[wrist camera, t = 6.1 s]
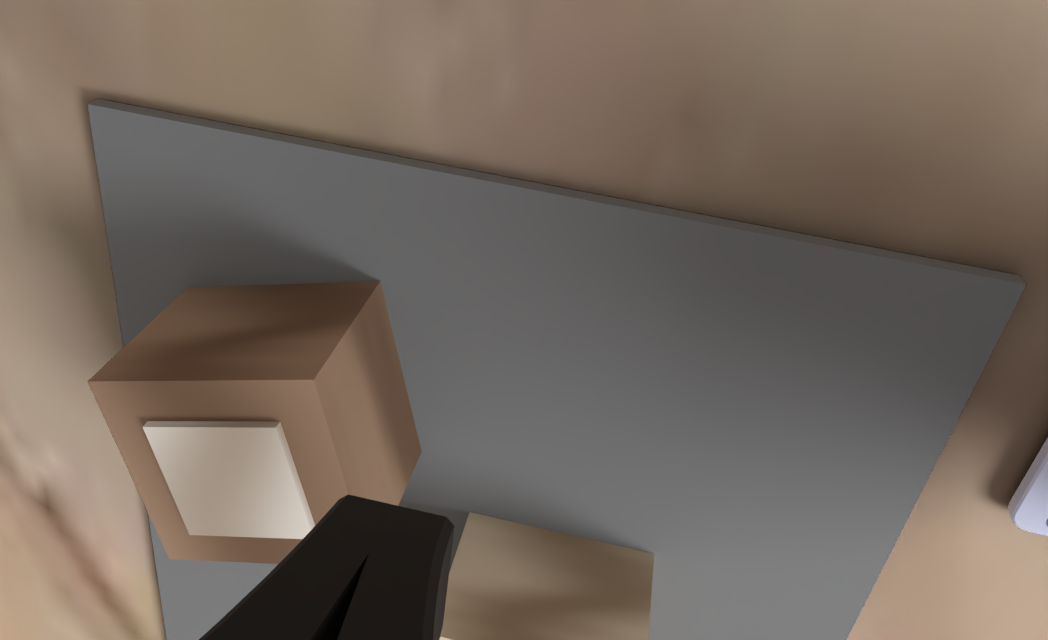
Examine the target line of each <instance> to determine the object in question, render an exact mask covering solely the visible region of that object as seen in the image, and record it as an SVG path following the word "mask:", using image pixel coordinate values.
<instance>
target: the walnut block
mask: <svg viewBox="0 0 1048 640" xmlns="http://www.w3.org/2000/svg"><path fill="white" fill-rule="evenodd" d="M88 384H89V386H90V388H91V390H92V392H93V394H94V397H95V399H96V401H97V403H98V405H99V407H100V410H101V412H102V414H103V416H104V418H105V420H106V423H107V425H108V427H109V429H110V431H111V433H112V436H113V438H114V440H115V442H116V444H117V446H118V449H119V451H120V453H121V455H122V457H123V460H124V462H125V464H126V466H127V468H128V470H129V473H130V475H131V477H132V479H133V481H134V483H135V486H136V488H137V490H138V492H139V494H140V496H141V499H142V501H143V503H144V505H145V507H146V509H147V512H148V514H149V516H150V518H151V520H152V522H153V525H154V527H155V529H156V531H157V533H158V535H159V538H160V540H161V542H162V544H163V546H164V549H165V551H166V553H167V555H168V557H169V559H176V560H199V561H222V562H245V563H268V564H279V563H280V562H281V561H282V560H283V559H284V558H285V557H286V556H287V555H288V554H289V553H290V552H291V551H292V550H293V549H294V548H295V547H296V546H297V545H298V544H299V543H300V542H301V540H302V539H303V538H304V537H305V536H306V535H307V534H308V533H309V532H310V531H311V530H312V529H313V528H314V527H315V525H316V524H317V523H318V522H319V521H320V520H321V519H322V518H323V517H324V516H325V515H326V513H327V512H328V511H329V510H330V509H331V508H332V507H333V506H334V504H335V503H336V502H337V501H338V500H339V499H341V498H342V497H344V496H346V495H348V494H349V495H353V496H357V497H362V498H366V499H371V500H375V501H379V502H384V503H388V504H393V505H397V506H398V505H399V503H400V500H401V498H402V496H403V493H404V491H405V489H406V487H407V484H408V482H409V480H410V477H411V475H412V473H413V471H414V468H415V466H416V464H417V461H418V459H419V457H420V454H421V452H422V451H421V447H420V443H419V438H418V434H417V430H416V426H415V422H414V418H413V414H412V409H411V405H410V401H409V397H408V393H407V389H406V385H405V380H404V376H403V372H402V368H401V364H400V360H399V356H398V351H397V347H396V343H395V339H394V335H393V331H392V327H391V322H390V318H389V314H388V310H387V306H386V302H385V298H384V294H383V289H382V285H381V281H364V282H335V283H307V284H278V285H249V286H220V287H191V288H186V289H185V290H184V291H183V292H182V293H181V294H180V295H179V296H178V297H177V298H176V299H174V300H173V301H172V302H171V303H170V304H169V305H168V306H167V307H166V308H165V309H164V310H163V311H162V312H161V313H160V314H159V315H158V316H156V317H155V318H154V319H153V320H152V321H151V322H150V323H149V324H148V325H147V326H146V327H145V328H144V329H143V330H142V331H141V332H140V333H138V334H137V335H136V336H135V337H134V338H133V339H132V340H131V341H130V342H129V343H128V344H127V345H126V346H125V347H124V348H123V349H122V350H120V351H119V352H118V353H117V354H116V355H115V356H114V357H113V358H112V359H111V360H110V361H109V362H108V363H107V364H106V365H105V366H104V367H102V368H101V369H100V370H99V371H98V372H97V373H96V374H95V375H94V376H93V377H92V378H91V379H90V380H89V381H88Z"/></svg>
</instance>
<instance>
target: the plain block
mask: <svg viewBox="0 0 1048 640" xmlns="http://www.w3.org/2000/svg"><path fill="white" fill-rule="evenodd" d="M653 565H654V554H653V553H648V552H644V551H639V550H635V549H630V548H626V547H622V546H617V545H613V544H608V543H604V542H600V541H595V540H591V539H586V538H582V537H577V536H573V535H569V534H564V533H560V532H555V531H551V530H547V529H542V528H538V527H533V526H529V525H524V524H520V523H516V522H511V521H507V520H502V519H498V518H494V517H489V516H485V515H480V514H476V513H471V512H469V515H468V518H467V521H466V524H465V527H464V530H463V533H462V536H461V539H460V542H459V545H458V548H457V551H456V554H455V557H454V560H453V563H452V566H451V569H450V572H449V578H448V586H447V595H446V604H445V612H444V621H443V627H442V631H441V635H440V639H439V640H648V637H649V622H650V608H651V594H652V579H653Z"/></svg>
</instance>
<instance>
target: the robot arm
mask: <svg viewBox="0 0 1048 640" xmlns="http://www.w3.org/2000/svg"><path fill="white" fill-rule="evenodd" d="M1008 511H1009V514H1010V517H1011V519H1012V521H1013V524H1014V525H1015V526H1017V527H1018V528H1019V529H1021V530H1024V531H1027V532H1032V533H1036V534H1041V535H1045V536H1048V437H1047V439H1046V441H1045V443H1044V444H1043V446H1042V448H1041V449H1040V451H1039V453H1038V454H1037V456H1036V458H1035V460H1034V461H1033V463H1032V465H1031V466H1030V468H1029V470H1028V472H1027V473H1026V475H1025V477H1024V478H1023V480H1022V482H1021V483H1020V485H1019V487H1018V489H1017V490H1016V492H1015V494H1014V495H1013V497H1012V499H1011V501H1010V502H1009V506H1008ZM453 535H454V525H453V524H452V523H451V521H450V520H449V519H448V518H447V517H445V516H441V515H437V514H432V513H428V512H423V511H419V510H415V509H410V508H406V507H401V506H397V505H393V504H388V503H384V502H379V501H375V500H371V499H366V498H362V497H357V496H353V495H349V494H348V495H346V496H344V497H342V498H341V499H339V500H338V501H337V502H336V503H335V504H334V506H333V507H332V508H331V509H330V510H329V511H328V512H327V513H326V515H325V516H324V517H323V518H322V519H321V520H320V521H319V522H318V523H317V524H316V525H315V527H314V528H313V529H312V530H311V531H310V532H309V533H308V534H307V535H306V536H305V537H304V538H303V539H302V540H301V542H300V543H299V544H298V545H297V546H296V547H295V548H294V549H293V550H292V551H291V552H290V553H289V554H288V555H287V556H286V557H285V558H284V559H283V560H282V561H281V562H280V563H279V564H278V565H277V566H276V567H275V568H274V569H273V570H272V571H271V572H270V573H269V574H268V575H267V576H266V577H265V578H264V579H263V580H262V581H261V582H260V583H259V584H258V585H257V586H256V587H255V588H254V589H253V590H251V591H250V592H249V593H248V594H247V595H246V596H245V597H244V598H243V599H242V600H241V601H240V602H239V603H238V604H237V605H236V606H235V607H234V608H232V609H231V610H230V611H229V612H228V613H227V614H226V615H225V616H224V617H223V618H222V619H221V620H220V621H219V622H218V623H217V624H216V625H214V626H213V627H212V628H211V629H210V630H209V631H208V632H207V633H206V634H204V635H203V636H202V637H201V638H200V639H199V640H439V639H440V635H441V631H442V627H443V621H444V612H445V604H446V595H447V586H448V578H449V569H450V561H451V552H452V544H453Z"/></svg>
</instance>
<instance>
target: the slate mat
mask: <svg viewBox="0 0 1048 640" xmlns="http://www.w3.org/2000/svg"><path fill="white" fill-rule="evenodd" d="M87 105H88V111H89V118H90V125H91V132H92V138H93V145H94V152H95V159H96V165H97V172H98V179H99V186H100V192H101V199H102V206H103V213H104V219H105V226H106V233H107V240H108V246H109V253H110V260H111V267H112V273H113V280H114V287H115V294H116V300H117V307H118V314H119V321H120V327H121V334H122V341H123V348H124V347H125V346H126V345H127V344H128V343H129V342H130V341H131V340H132V339H133V338H134V337H135V336H136V335H137V334H138V333H140V332H141V331H142V330H143V329H144V328H145V327H146V326H147V325H148V324H149V323H150V322H151V321H152V320H153V319H154V318H155V317H156V316H158V315H159V314H160V313H161V312H162V311H163V310H164V309H165V308H166V307H167V306H168V305H169V304H170V303H171V302H172V301H173V300H174V299H176V298H177V297H178V296H179V295H180V294H181V293H182V292H183V291H184V290H185V289H186V288H191V287H220V286H249V285H278V284H307V283H335V282H364V281H381V285H382V289H383V294H384V298H385V302H386V306H387V310H388V314H389V318H390V322H391V327H392V331H393V335H394V339H395V343H396V347H397V351H398V356H399V360H400V364H401V368H402V372H403V376H404V380H405V385H406V389H407V393H408V397H409V401H410V405H411V409H412V414H413V418H414V422H415V426H416V430H417V434H418V438H419V443H420V447H421V451H422V452H421V454H420V457H419V459H418V461H417V464H416V466H415V468H414V471H413V473H412V475H411V477H410V480H409V482H408V484H407V487H406V489H405V491H404V493H403V496H402V498H401V500H400V503H399V505H398V506H401V507H406V508H410V509H415V510H419V511H423V512H428V513H432V514H437V515H441V516H445V517H447V518H448V519H449V520H450V521H451V523H452V524H453V525H454V535H453V544H452V552H451V561H450V569H451V566H452V563H453V560H454V557H455V554H456V551H457V548H458V545H459V542H460V539H461V536H462V533H463V530H464V527H465V524H466V521H467V518H468V515H469V512H471V513H476V514H480V515H485V516H489V517H494V518H498V519H502V520H507V521H511V522H516V523H520V524H524V525H529V526H533V527H538V528H542V529H547V530H551V531H555V532H560V533H564V534H569V535H573V536H577V537H582V538H586V539H591V540H595V541H600V542H604V543H608V544H613V545H617V546H622V547H626V548H630V549H635V550H639V551H644V552H648V553H653V554H654V565H653V579H652V594H651V608H650V622H649V637H648V640H846V639H847V637H848V636H849V634H850V632H851V630H852V628H853V626H854V624H855V622H856V620H857V618H858V616H859V614H860V612H861V610H862V608H863V606H864V604H865V602H866V600H867V598H868V596H869V594H870V592H871V590H872V588H873V586H874V584H875V582H876V580H877V578H878V576H879V574H880V572H881V570H882V568H883V566H884V565H885V563H886V561H887V559H888V557H889V555H890V553H891V551H892V549H893V547H894V545H895V543H896V541H897V539H898V537H899V535H900V533H901V531H902V529H903V527H904V525H905V523H906V521H907V519H908V517H909V515H910V513H911V511H912V509H913V507H914V505H915V503H916V501H917V499H918V497H919V496H920V494H921V492H922V490H923V488H924V486H925V484H926V482H927V480H928V478H929V476H930V474H931V472H932V470H933V468H934V466H935V464H936V462H937V460H938V458H939V456H940V454H941V452H942V450H943V448H944V446H945V444H946V442H947V440H948V438H949V436H950V434H951V432H952V430H953V428H954V427H955V425H956V423H957V421H958V419H959V417H960V415H961V413H962V411H963V409H964V407H965V405H966V403H967V401H968V399H969V397H970V395H971V393H972V391H973V389H974V387H975V385H976V383H977V381H978V379H979V377H980V375H981V373H982V371H983V369H984V367H985V365H986V363H987V361H988V359H989V358H990V356H991V354H992V352H993V350H994V348H995V346H996V344H997V342H998V340H999V338H1000V336H1001V334H1002V332H1003V330H1004V328H1005V326H1006V324H1007V322H1008V320H1009V318H1010V316H1011V314H1012V312H1013V310H1014V308H1015V306H1016V304H1017V302H1018V300H1019V298H1020V296H1021V294H1022V292H1023V290H1024V289H1025V287H1026V283H1025V282H1024V280H1023V279H1022V277H1021V276H1020V275H1015V274H1010V273H1005V272H1000V271H995V270H989V269H984V268H979V267H974V266H968V265H963V264H958V263H953V262H948V261H942V260H937V259H932V258H927V257H921V256H916V255H911V254H906V253H901V252H895V251H890V250H885V249H880V248H875V247H869V246H864V245H859V244H854V243H848V242H843V241H838V240H833V239H828V238H822V237H817V236H812V235H807V234H801V233H796V232H791V231H786V230H781V229H775V228H770V227H765V226H760V225H754V224H749V223H744V222H739V221H734V220H728V219H723V218H718V217H713V216H708V215H702V214H697V213H692V212H687V211H681V210H676V209H671V208H666V207H661V206H655V205H650V204H645V203H640V202H634V201H629V200H624V199H619V198H614V197H608V196H603V195H598V194H593V193H588V192H582V191H577V190H572V189H567V188H561V187H556V186H551V185H546V184H541V183H535V182H530V181H525V180H520V179H514V178H509V177H504V176H499V175H494V174H488V173H483V172H478V171H473V170H468V169H462V168H457V167H452V166H447V165H441V164H436V163H431V162H426V161H421V160H415V159H410V158H405V157H400V156H394V155H389V154H384V153H379V152H374V151H368V150H363V149H358V148H353V147H347V146H342V145H337V144H332V143H327V142H321V141H316V140H311V139H306V138H301V137H295V136H290V135H285V134H280V133H274V132H269V131H264V130H259V129H254V128H248V127H243V126H238V125H233V124H227V123H222V122H217V121H212V120H207V119H201V118H196V117H191V116H186V115H181V114H175V113H170V112H165V111H160V110H154V109H149V108H144V107H139V106H134V105H128V104H123V103H118V102H113V101H107V100H102V99H97V100H95V101H93V102H91V103H89V104H87ZM148 517H149V523H150V530H151V537H152V544H153V550H154V557H155V564H156V571H157V577H158V584H159V591H160V598H161V604H162V611H163V618H164V625H165V631H166V638H167V640H199V639H200V638H201V637H202V636H203V635H204V634H206V633H207V632H208V631H209V630H210V629H211V628H212V627H213V626H214V625H216V624H217V623H218V622H219V621H220V620H221V619H222V618H223V617H224V616H225V615H226V614H227V613H228V612H229V611H230V610H231V609H232V608H234V607H235V606H236V605H237V604H238V603H239V602H240V601H241V600H242V599H243V598H244V597H245V596H246V595H247V594H248V593H249V592H250V591H251V590H253V589H254V588H255V587H256V586H257V585H258V584H259V583H260V582H261V581H262V580H263V579H264V578H265V577H266V576H267V575H268V574H269V573H270V572H271V571H272V570H273V569H274V568H275V567H276V566H277V565H278V564H268V563H245V562H222V561H199V560H176V559H169V557H168V555H167V553H166V551H165V549H164V546H163V544H162V542H161V540H160V538H159V535H158V533H157V531H156V529H155V527H154V525H153V522H152V520H151V518H150V516H149V514H148ZM450 569H449V572H450Z"/></svg>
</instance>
